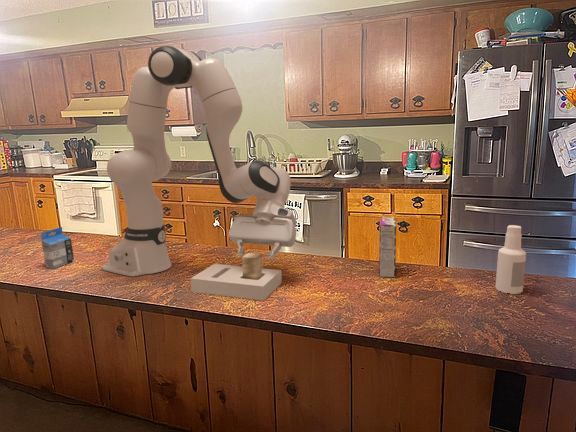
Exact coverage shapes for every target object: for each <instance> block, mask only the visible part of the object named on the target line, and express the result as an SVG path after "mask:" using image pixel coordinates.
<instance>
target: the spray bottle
mask: <svg viewBox="0 0 576 432" xmlns="http://www.w3.org/2000/svg"><path fill="white" fill-rule="evenodd" d="M522 237H523V235H522V226H521V225H516V224H509V225H508V226H507V227H506V233H505V237H504V239H505V241H504V245H503V247H500V248H499V249H498V251H497V261H496V262H497V264H496V276H495V286H494V287H495V289H496V290H497V291H498V292H500V291H501V292H500V293H503V294H507V293H510V294H509V295H519V294H521V292H522V293H523V290H524V282H525V271H526V258H527V252H526V251H525V250H524V249H523V248H522V239H523V238H522Z"/></svg>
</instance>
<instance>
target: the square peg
mask: <svg viewBox="0 0 576 432" xmlns="http://www.w3.org/2000/svg"><path fill="white" fill-rule="evenodd" d="M241 260H242V261H241V263H242V265H241V266H242V267H243V278H244V279H253V280H259V279H260V278H261V277H262V268H263V267H262V253H252V252H247V253H246V254H244V256H242V257H241Z"/></svg>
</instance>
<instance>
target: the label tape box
mask: <svg viewBox="0 0 576 432" xmlns="http://www.w3.org/2000/svg"><path fill="white" fill-rule="evenodd" d="M52 233H54V234H52ZM50 234H51V235H50ZM40 236H41V237H40V239H41V246H42V252H43V258H44V264H45V269H49V270H50V269H51V270H52V269H53V270H55V269H58V268H60V267H63V266H65V265H67V264H70V263H73V262H75V257H74V250H73V242H72V238H71V237H69V236H67V235H66V234H64V233H63V226H60V227H57V228H53V229H50V230H45V231H43V232H40Z"/></svg>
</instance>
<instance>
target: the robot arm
mask: <svg viewBox="0 0 576 432" xmlns="http://www.w3.org/2000/svg"><path fill="white" fill-rule="evenodd" d="M191 88H193V89H194V90H195V92H196V94H197V95H198V98H199V99H200V102H201V104H202V107H203V111H204V114H205V120H206V128H205V131H206V132H205V134H206V137H207V142H208V146H209V148H210V152H211V155H212V159H213V162H214V165H215V169H216V172H217V177H218V185H219V190H220V193H221V194H222V196H223V198H225V199H226V200H227V201H229V202H230V203H232V204H240V203H242V202H244V201H245V200H248V199H250V198H253V197H255V198H256V200H257V201H256V204H255V206H254V209H253V213H252V214H243V213H241V214H239V215H237V216H235V217H234V219H233V223H232V224H231V227H230V228H229V230H228V233H227V234H228V238H229V239H230V241H231V242H232V243H235V244H236V243H237V246H238V250H237V255H238V256H242V257H243V256H244V255H245V253H246V250H245V248H244V247H243V246H245V244H248V245H249V244H250V245H251V244H252V245H260V246H261V245H263V246H271V247H272V246H274V247H273V248H272V249H270V250H268V254H267V258H269V259H272V260H273V259H275V257H276V254H278V253H279V251H280V250H282V247H287V248H292V247H293V246H294V245H295V242H296V239H297V228H296V226H297V219H296V217H295V214H294V213H293V212H292V210H289V209H287V208H285V205H286V203H287V202H288V199H289V195H290V190H291V185H292V184H291V183H292V181H291V176H290V174H289V172H288V171H286V169H284V168H282V167H279V166H274V167H272V166H270V165H268V164H267V163H266V162H264V161H263V160H260V159H259V160H254V161H250V162H248V163H246V164H244V165H242V166H240V167H238V168H237V166H236V163H235V160H234V157H233V154H232V153H233V152H232V150H231V147H230V138H231V137H230V136H231V134H232V132H233V129H234V128H235V127H236V125H237V124H238V122H239V121H240V119H241V117H242V113H243V104H242V99H241V96H240V93H239V91H238V89H237V87H236V85H235V83H234V80H233V79H232V77H231V75H230V73H229V71H228V70H227V68H226V67H225V65H224V64H223V62H222V61H221V60H219V59H218V58H214V57H207V58H203V59H201V57H200V56H199V55H197V54H196V53H195V52H192V51H189V50H187V49H185V48H182V47H174V46H171V45H164V46H159V47H156V48H155V49H154V50H153V51H152V52H151V53H150V54H149V56H148V60H147V66H143V67H139V68H138V69H137V70H136V72H135V75H134V76H133V80H132V83H131V88H130V92H129V98H128V99H129V101H128V109H127V118H126V119H127V121H126V128H127V129H128V131H129V133H131V137H132V143H133V149H127V150H126V149H125V150H121V151H120V152H118V153H116V154H114V155H112V156H111V157H110V158H109V159H108V161H107V164H106V173H107V176H108V177H109V179H110V180H111V182H112V183H113V184H115V185H116V186H117V187H118V189H119V190H120V193H121V195H122V199H123V201H124V204H125V209H126V218H127V219H126V220H127V227H126V228H124V229H123V228H122V229H120V231H121V234H124V238H123V239H122V240H121V241H119V242H118V243H117V244H116V245H114V247H112V248H111V249H110V251H109V254H108V255H109V256H108V262H106V263H104V264H103V265H102V267H101V270H102V271H104V272H109V273H115V274H118V275H123V276H126V277H127V276H128V277H137V276H142V275H148V274H149V275H151V274H157V273H161V272H163V271H164V272H165V271H166V270H168V269H170V268H171V267H172V262H171V260H170V256H169V253H168V249H167V242H166V239H167V238H166V237H167V235H166V234H167V233H166V225H165V223H164V216H163V215H164V214H163V213H164V212H163V211H164V210H163V203H162V200H161V198H159V197H158V196H157V194H156V192H155V190H154V186H153V182H156V181H159V180H161V179H163V178H164V177H165V176H166V175H168V174H169V172H170V171H171V168H172V161H171V157H170V156H169V154H168V152H167V149H166V141H165V127H166V125H165V124H166V116H167V109H168V108H167V107H168V100H169V96H170V93H171V91H172V90H173V89H176V90H181V89H191Z"/></svg>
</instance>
